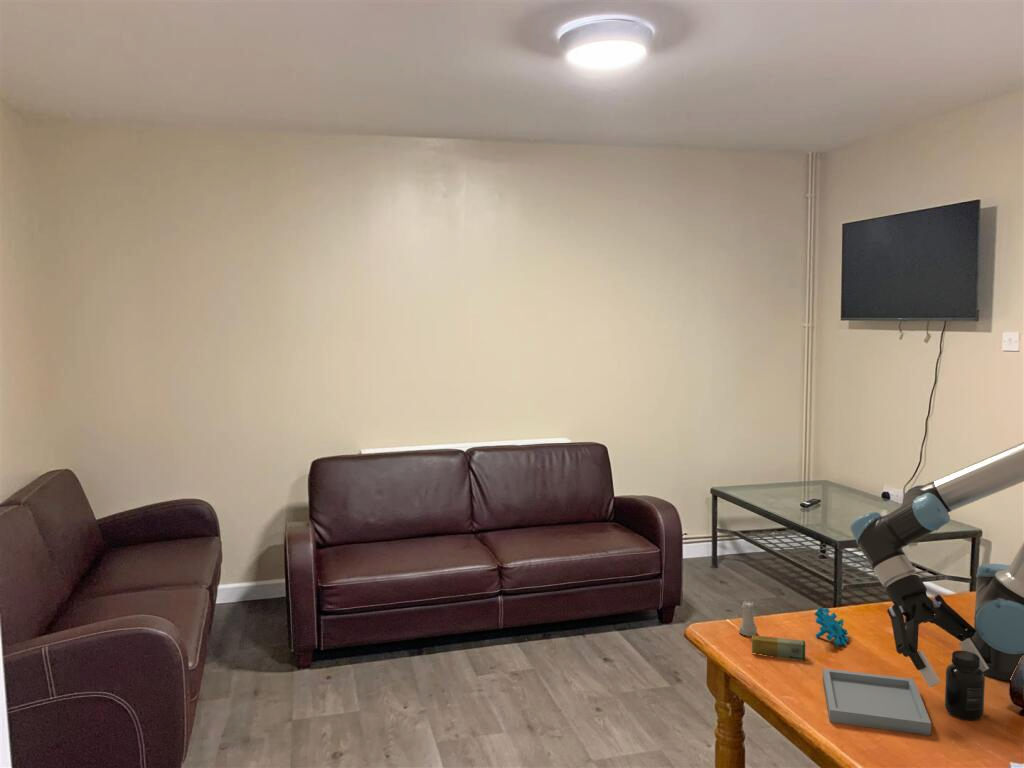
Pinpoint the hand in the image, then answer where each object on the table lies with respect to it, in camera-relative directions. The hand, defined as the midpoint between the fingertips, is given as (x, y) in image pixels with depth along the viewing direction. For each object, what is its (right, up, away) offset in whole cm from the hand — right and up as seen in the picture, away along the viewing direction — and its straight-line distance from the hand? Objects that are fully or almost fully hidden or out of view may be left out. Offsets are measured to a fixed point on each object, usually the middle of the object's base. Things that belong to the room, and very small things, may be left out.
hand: (959, 678), depth 158 cm
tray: (-16, -7, +4) cm, 18 cm away
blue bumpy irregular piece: (-12, -4, +34) cm, 36 cm away
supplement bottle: (+1, -7, 0) cm, 7 cm away
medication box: (-28, -5, +27) cm, 39 cm away
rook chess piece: (-31, -3, +39) cm, 50 cm away
